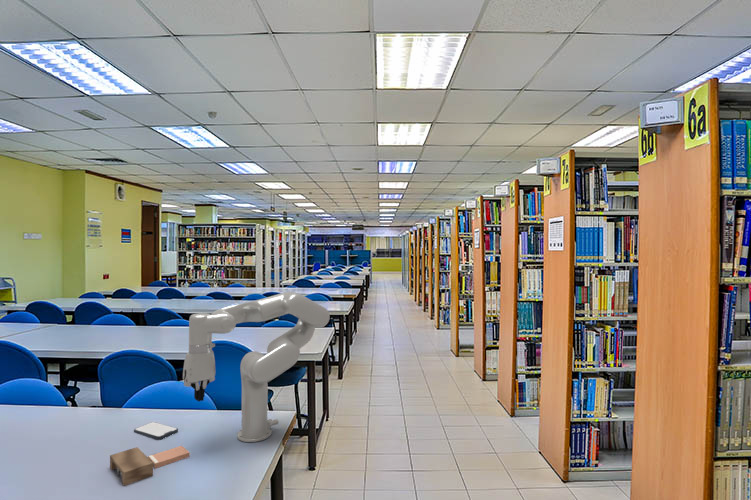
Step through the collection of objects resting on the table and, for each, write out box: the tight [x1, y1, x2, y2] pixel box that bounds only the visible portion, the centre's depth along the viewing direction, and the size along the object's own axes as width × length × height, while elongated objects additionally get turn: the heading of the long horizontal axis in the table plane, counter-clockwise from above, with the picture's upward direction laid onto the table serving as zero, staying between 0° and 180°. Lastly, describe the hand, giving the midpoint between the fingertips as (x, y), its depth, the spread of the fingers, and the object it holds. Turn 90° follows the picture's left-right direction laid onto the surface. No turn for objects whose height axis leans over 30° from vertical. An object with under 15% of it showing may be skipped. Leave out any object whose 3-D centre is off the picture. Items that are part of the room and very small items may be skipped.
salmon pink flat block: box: [147, 445, 191, 469], centre depth 141 cm, size 11×7×2 cm, turn 135°
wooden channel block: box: [109, 447, 154, 487], centre depth 133 cm, size 8×15×4 cm, turn 46°
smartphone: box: [133, 421, 179, 441], centre depth 162 cm, size 9×2×16 cm
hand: (199, 400), depth 148 cm, fingers closed
